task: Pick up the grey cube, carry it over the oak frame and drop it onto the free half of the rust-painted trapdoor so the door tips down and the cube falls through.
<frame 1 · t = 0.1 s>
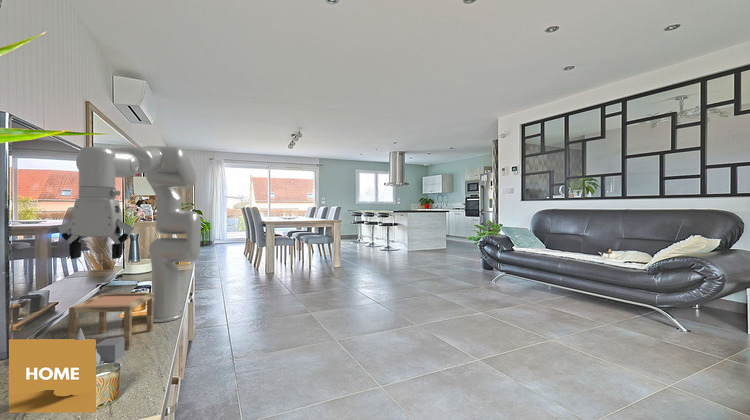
hand: (96, 258, 92), 31 cm above the sideboard, tool pointing down, fingers open, 9 cm apart
frame: (114, 340, 114), on the sideboard
grey cube: (110, 358, 101), on the sideboard
crystal: (80, 386, 86), on the sideboard
trapdoor: (115, 301, 114), point 13 cm above the sideboard, hinge at 0.0°
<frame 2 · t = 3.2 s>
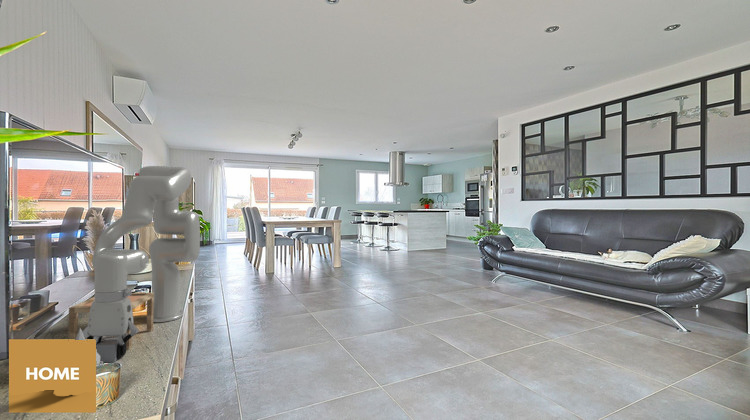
hand: (110, 356, 101), 0 cm above the sideboard, tool pointing down, fingers closed on grey cube, 5 cm apart
grey cube: (110, 358, 101), on the sideboard, touching gripper
everything else where it was.
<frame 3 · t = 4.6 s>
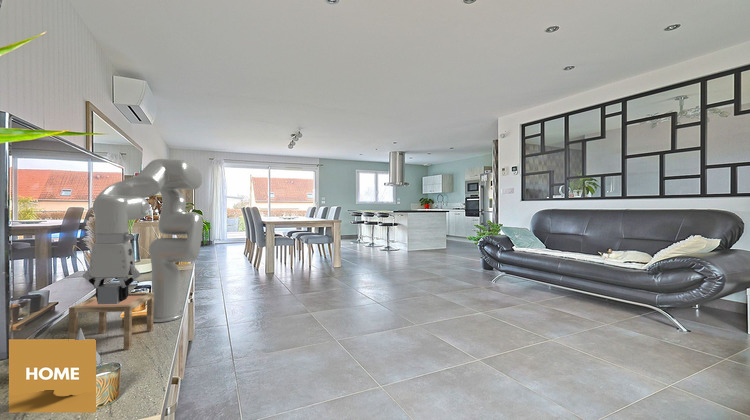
hand: (112, 299, 101), 17 cm above the sideboard, tool pointing down, fingers closed on grey cube, 5 cm apart
grey cube: (112, 301, 101), point 17 cm above the sideboard, touching gripper
everything else where it was.
when the fingers open (16 cm above the sideboard, at t = 6.2 s): grey cube drops 13 cm and tips over, point 2 cm above the sideboard.
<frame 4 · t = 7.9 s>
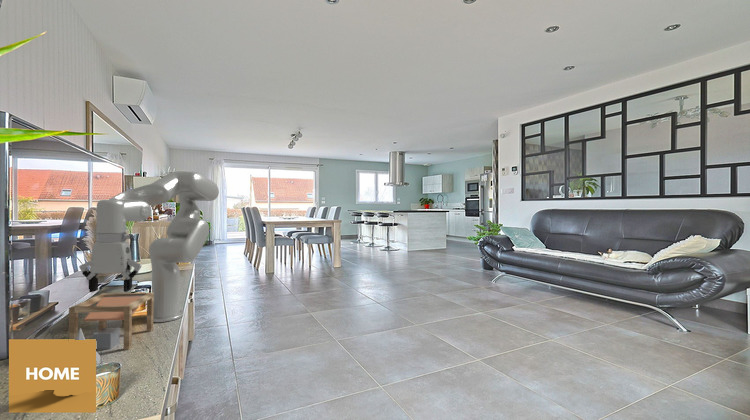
hand: (110, 291, 111), 17 cm above the sideboard, tool pointing down, fingers open, 9 cm apart
grey cube: (110, 335, 111), point 2 cm above the sideboard, tilted 90°
trapdoor: (116, 307, 114), point 11 cm above the sideboard, hinge at -23.1°
everything else where it was.
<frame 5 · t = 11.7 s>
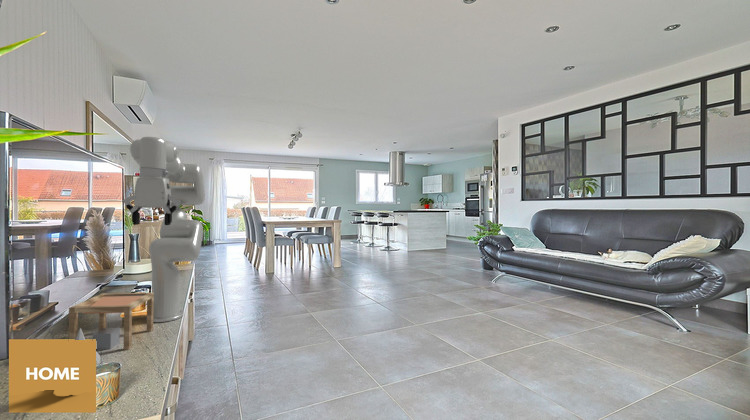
hand: (152, 224, 117), 38 cm above the sideboard, tool pointing down, fingers open, 9 cm apart
trapdoor: (115, 303, 114), point 12 cm above the sideboard, hinge at -8.8°
everything else where it was.
at the end: grey cube point 2.4 cm above the sideboard; grey cube 2.1 cm from the frame (horizontally); the gripper is holding nothing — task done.
